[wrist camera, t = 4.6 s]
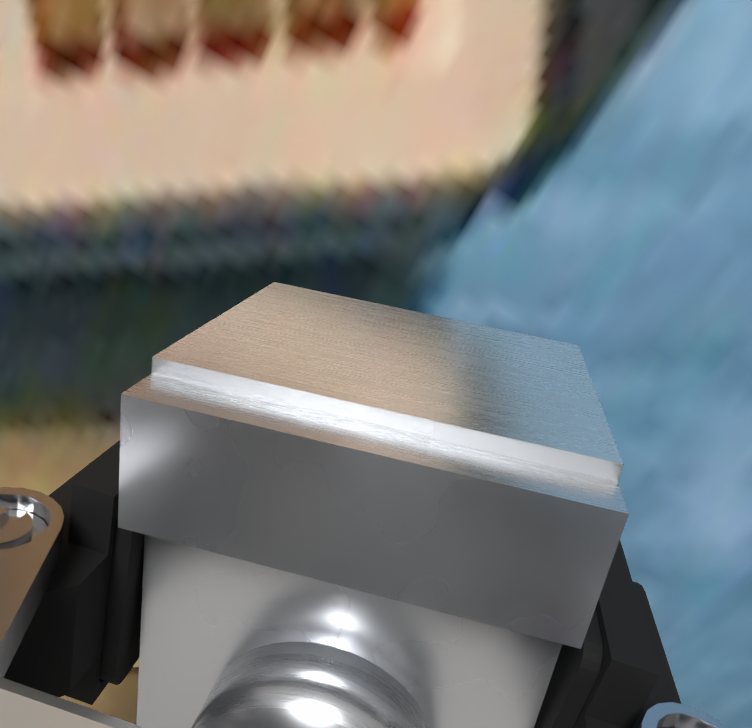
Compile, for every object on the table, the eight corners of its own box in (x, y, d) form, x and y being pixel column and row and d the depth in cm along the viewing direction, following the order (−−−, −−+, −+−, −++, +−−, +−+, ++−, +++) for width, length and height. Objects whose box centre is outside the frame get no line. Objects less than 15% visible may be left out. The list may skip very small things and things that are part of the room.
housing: (274, 281, 11) (99, 389, 6) (578, 345, 10) (644, 519, 5) (237, 614, 13) (93, 875, 8) (480, 681, 12) (468, 999, 8)
